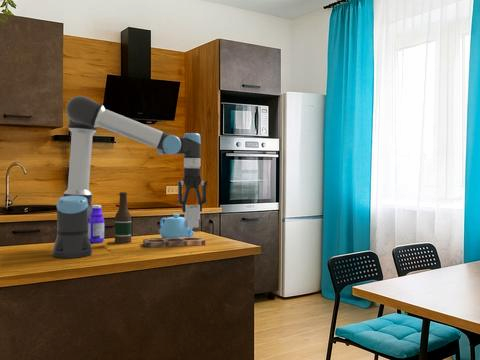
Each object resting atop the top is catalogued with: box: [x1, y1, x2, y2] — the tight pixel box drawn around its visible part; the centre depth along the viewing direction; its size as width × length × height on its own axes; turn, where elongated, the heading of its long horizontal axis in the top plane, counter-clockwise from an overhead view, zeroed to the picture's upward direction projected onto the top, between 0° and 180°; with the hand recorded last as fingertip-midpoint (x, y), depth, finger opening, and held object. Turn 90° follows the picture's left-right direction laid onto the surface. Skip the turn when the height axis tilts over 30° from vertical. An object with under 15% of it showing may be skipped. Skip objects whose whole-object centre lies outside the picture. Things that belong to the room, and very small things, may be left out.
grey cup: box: [185, 204, 200, 229], centre depth 218 cm, size 5×5×10 cm
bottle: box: [88, 204, 105, 244], centre depth 226 cm, size 7×6×17 cm
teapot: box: [158, 213, 195, 239], centre depth 238 cm, size 20×20×13 cm
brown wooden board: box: [142, 236, 206, 249], centre depth 215 cm, size 26×10×3 cm, turn 110°
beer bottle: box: [114, 191, 132, 245], centre depth 219 cm, size 8×8×24 cm
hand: (192, 219), depth 218 cm, fingers closed on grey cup, 5 cm apart
